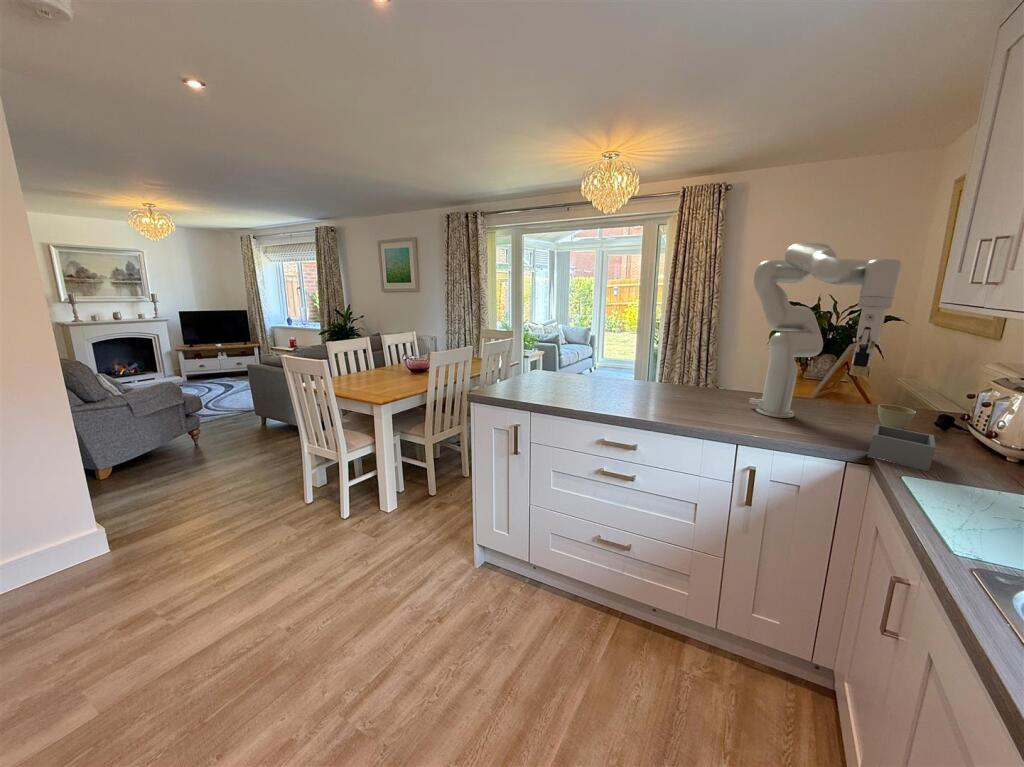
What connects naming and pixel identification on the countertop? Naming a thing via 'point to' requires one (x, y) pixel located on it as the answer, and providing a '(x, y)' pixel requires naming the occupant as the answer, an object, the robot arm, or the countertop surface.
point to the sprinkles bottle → (858, 369)
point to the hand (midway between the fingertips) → (860, 364)
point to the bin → (902, 447)
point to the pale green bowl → (895, 416)
